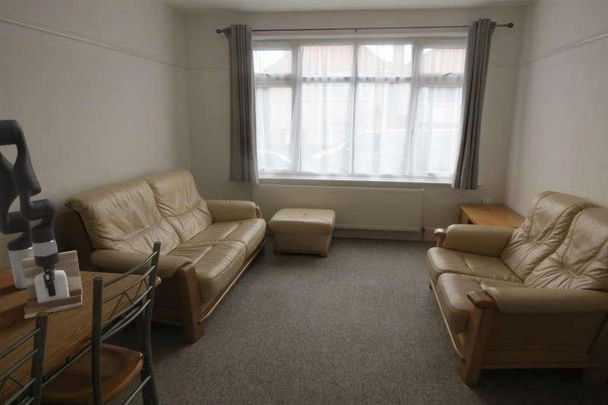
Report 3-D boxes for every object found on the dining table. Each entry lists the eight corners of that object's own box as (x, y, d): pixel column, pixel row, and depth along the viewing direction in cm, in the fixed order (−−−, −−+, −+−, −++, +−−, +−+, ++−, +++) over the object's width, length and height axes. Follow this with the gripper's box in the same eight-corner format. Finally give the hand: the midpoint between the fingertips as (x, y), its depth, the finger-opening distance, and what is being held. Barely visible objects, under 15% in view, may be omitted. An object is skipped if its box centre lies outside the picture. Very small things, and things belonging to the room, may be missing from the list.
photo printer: (69, 295, 147) (65, 266, 145) (70, 299, 144) (65, 270, 141) (38, 302, 142) (33, 272, 139) (38, 307, 138) (32, 276, 136)
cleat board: (30, 300, 147) (22, 258, 143) (82, 290, 156) (76, 250, 152) (24, 318, 134) (15, 273, 130) (81, 306, 143) (74, 262, 139)
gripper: (35, 248, 143) (43, 288, 146) (31, 259, 131) (39, 303, 134) (58, 244, 146) (65, 284, 150) (56, 255, 134) (63, 298, 138)
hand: (53, 293), depth 142 cm, fingers closed on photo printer, 4 cm apart
